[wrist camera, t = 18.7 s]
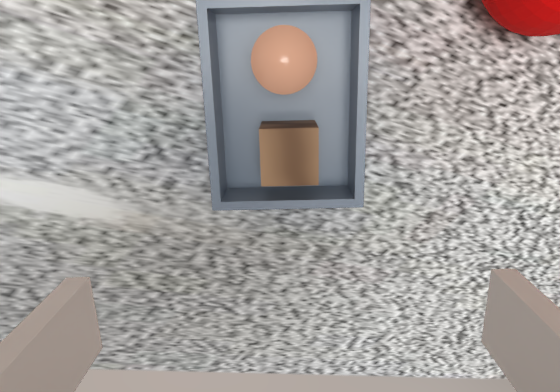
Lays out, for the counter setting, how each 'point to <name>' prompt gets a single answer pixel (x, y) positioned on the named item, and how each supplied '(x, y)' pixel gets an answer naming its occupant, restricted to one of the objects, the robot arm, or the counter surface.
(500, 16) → the tomato
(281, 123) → the walnut cube
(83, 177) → the counter surface
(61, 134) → the counter surface
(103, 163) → the counter surface
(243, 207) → the tote
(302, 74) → the peach rounded cylinder
